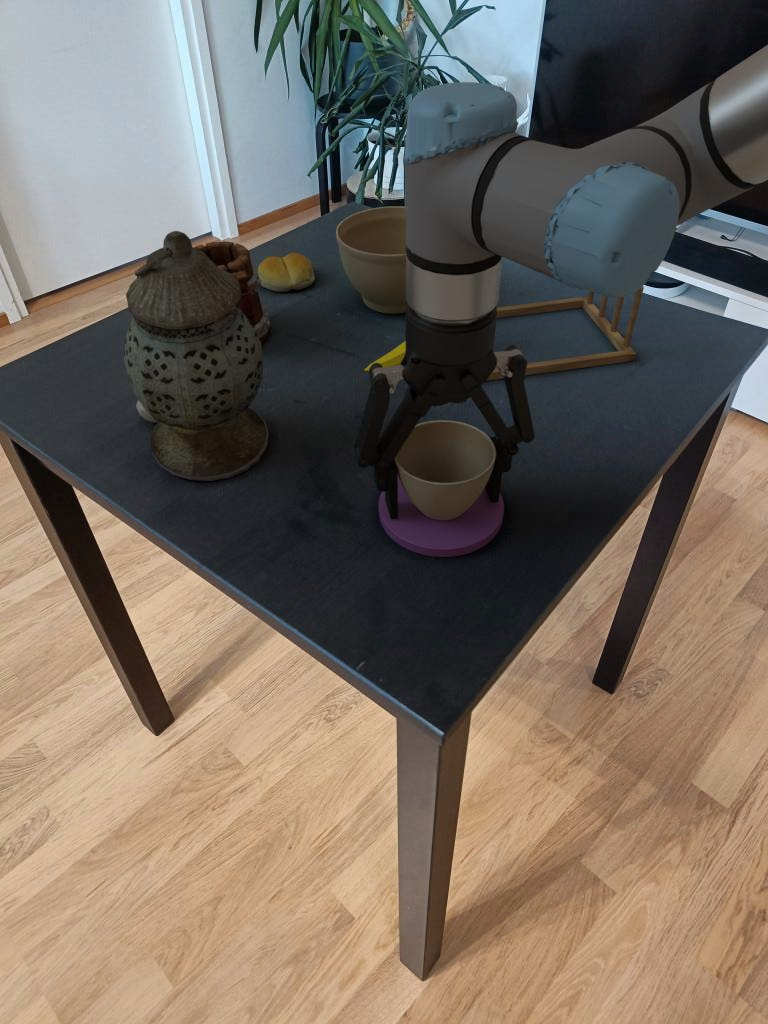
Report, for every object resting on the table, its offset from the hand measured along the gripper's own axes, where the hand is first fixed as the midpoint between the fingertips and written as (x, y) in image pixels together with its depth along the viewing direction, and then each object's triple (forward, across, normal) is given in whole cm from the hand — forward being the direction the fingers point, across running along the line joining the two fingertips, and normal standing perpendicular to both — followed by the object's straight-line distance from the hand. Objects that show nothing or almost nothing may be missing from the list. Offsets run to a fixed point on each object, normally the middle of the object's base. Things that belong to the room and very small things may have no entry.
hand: (441, 501), depth 74 cm
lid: (+2, 0, 0) cm, 2 cm away
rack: (+1, -22, -30) cm, 37 cm away
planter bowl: (+2, -5, -46) cm, 46 cm away
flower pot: (0, 0, 0) cm, 0 cm away
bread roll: (+2, +10, -56) cm, 57 cm away
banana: (0, -7, -29) cm, 30 cm away
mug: (+2, +19, -40) cm, 44 cm away
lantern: (+1, +24, -17) cm, 29 cm away
